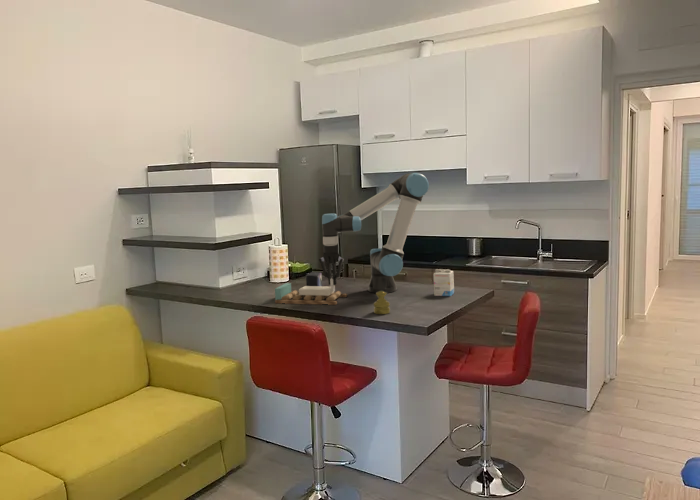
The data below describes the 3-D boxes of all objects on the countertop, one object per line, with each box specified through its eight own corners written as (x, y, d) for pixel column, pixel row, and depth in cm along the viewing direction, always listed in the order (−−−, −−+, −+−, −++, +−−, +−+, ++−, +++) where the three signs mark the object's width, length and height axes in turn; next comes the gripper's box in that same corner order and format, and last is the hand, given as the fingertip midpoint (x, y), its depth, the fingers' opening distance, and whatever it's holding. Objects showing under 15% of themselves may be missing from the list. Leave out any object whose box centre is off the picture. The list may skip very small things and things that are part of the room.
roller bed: (347, 296, 288) (346, 290, 287) (335, 304, 270) (335, 298, 269) (290, 295, 297) (289, 289, 296) (275, 303, 279) (275, 296, 278)
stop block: (291, 296, 294) (290, 283, 293) (281, 302, 281) (280, 288, 280) (286, 296, 295) (285, 283, 294) (275, 302, 281) (274, 288, 281)
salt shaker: (375, 310, 255) (375, 289, 254) (391, 310, 253) (391, 289, 251) (371, 314, 248) (371, 292, 247) (388, 314, 246) (387, 292, 244)
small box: (318, 294, 296) (317, 275, 295) (306, 294, 297) (305, 275, 296) (323, 290, 306) (322, 271, 305) (311, 290, 308) (310, 271, 306)
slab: (334, 292, 283) (333, 286, 283) (329, 295, 276) (329, 289, 275) (304, 291, 288) (304, 286, 288) (299, 295, 280) (299, 289, 280)
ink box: (454, 293, 285) (454, 267, 283) (450, 296, 277) (449, 270, 275) (438, 292, 288) (437, 266, 286) (433, 295, 281) (433, 269, 279)
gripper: (345, 243, 278) (347, 289, 281) (320, 243, 282) (323, 289, 285) (340, 245, 271) (343, 292, 274) (315, 245, 274) (318, 292, 277)
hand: (332, 291), depth 279 cm, fingers closed
